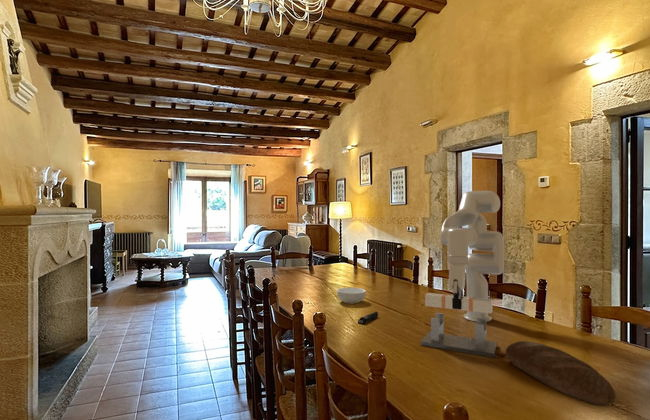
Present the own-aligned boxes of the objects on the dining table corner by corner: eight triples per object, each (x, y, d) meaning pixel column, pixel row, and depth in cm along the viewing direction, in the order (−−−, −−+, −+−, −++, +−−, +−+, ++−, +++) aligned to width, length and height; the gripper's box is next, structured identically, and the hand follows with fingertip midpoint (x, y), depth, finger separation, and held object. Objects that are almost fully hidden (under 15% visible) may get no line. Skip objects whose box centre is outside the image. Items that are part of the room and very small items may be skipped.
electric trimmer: (380, 318, 180) (380, 311, 181) (363, 325, 168) (363, 318, 168) (373, 317, 183) (373, 310, 183) (357, 324, 170) (357, 317, 171)
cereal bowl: (367, 305, 203) (367, 293, 203) (337, 306, 203) (337, 293, 203) (364, 298, 220) (364, 287, 220) (336, 298, 220) (336, 287, 220)
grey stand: (428, 335, 153) (428, 310, 154) (496, 346, 141) (496, 318, 141) (420, 345, 142) (420, 318, 142) (494, 357, 129) (493, 328, 129)
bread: (530, 353, 134) (530, 330, 134) (633, 404, 98) (632, 373, 98) (492, 357, 130) (492, 333, 130) (584, 411, 95) (584, 379, 95)
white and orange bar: (492, 311, 137) (492, 298, 137) (491, 314, 133) (491, 301, 133) (428, 303, 149) (428, 292, 149) (425, 306, 145) (425, 294, 145)
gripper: (451, 257, 151) (452, 302, 150) (443, 262, 136) (443, 311, 136) (471, 258, 147) (471, 304, 147) (464, 263, 132) (465, 313, 132)
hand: (458, 307), depth 141 cm, fingers closed on white and orange bar, 4 cm apart
